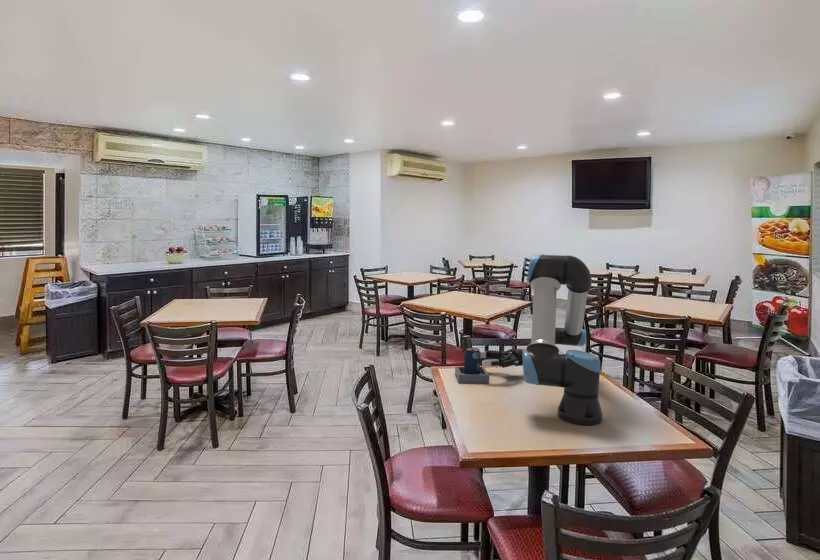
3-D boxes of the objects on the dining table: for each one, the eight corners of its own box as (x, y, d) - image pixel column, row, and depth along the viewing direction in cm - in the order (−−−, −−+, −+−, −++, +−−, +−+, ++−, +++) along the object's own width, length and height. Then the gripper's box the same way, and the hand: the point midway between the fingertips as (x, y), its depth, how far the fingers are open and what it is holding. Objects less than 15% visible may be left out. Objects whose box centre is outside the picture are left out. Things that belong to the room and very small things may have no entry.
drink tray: (489, 383, 214) (489, 375, 214) (458, 382, 214) (459, 374, 214) (483, 374, 227) (483, 366, 227) (455, 373, 227) (455, 366, 227)
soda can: (481, 378, 217) (482, 351, 216) (465, 378, 217) (466, 351, 216) (477, 373, 224) (479, 347, 223) (462, 373, 224) (463, 347, 222)
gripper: (534, 373, 214) (488, 375, 209) (509, 358, 238) (467, 359, 233) (535, 356, 213) (489, 358, 208) (510, 342, 237) (468, 344, 232)
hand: (477, 359), depth 220 cm, fingers open, 13 cm apart
